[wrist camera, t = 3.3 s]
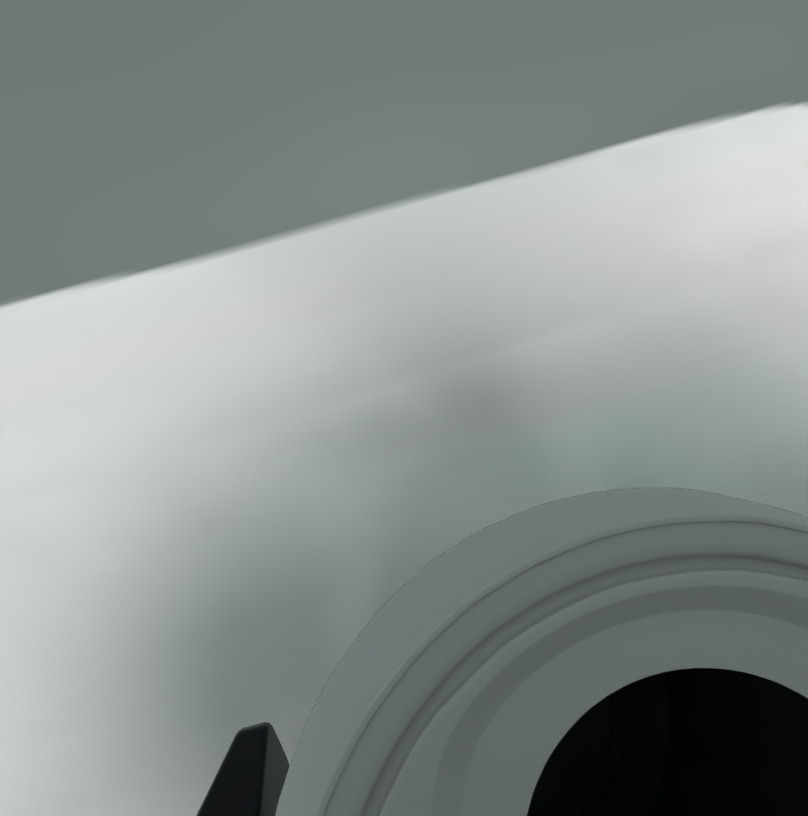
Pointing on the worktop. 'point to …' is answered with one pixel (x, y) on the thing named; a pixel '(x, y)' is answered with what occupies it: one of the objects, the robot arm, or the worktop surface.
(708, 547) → the beverage can
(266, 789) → the robot arm
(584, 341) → the worktop surface
